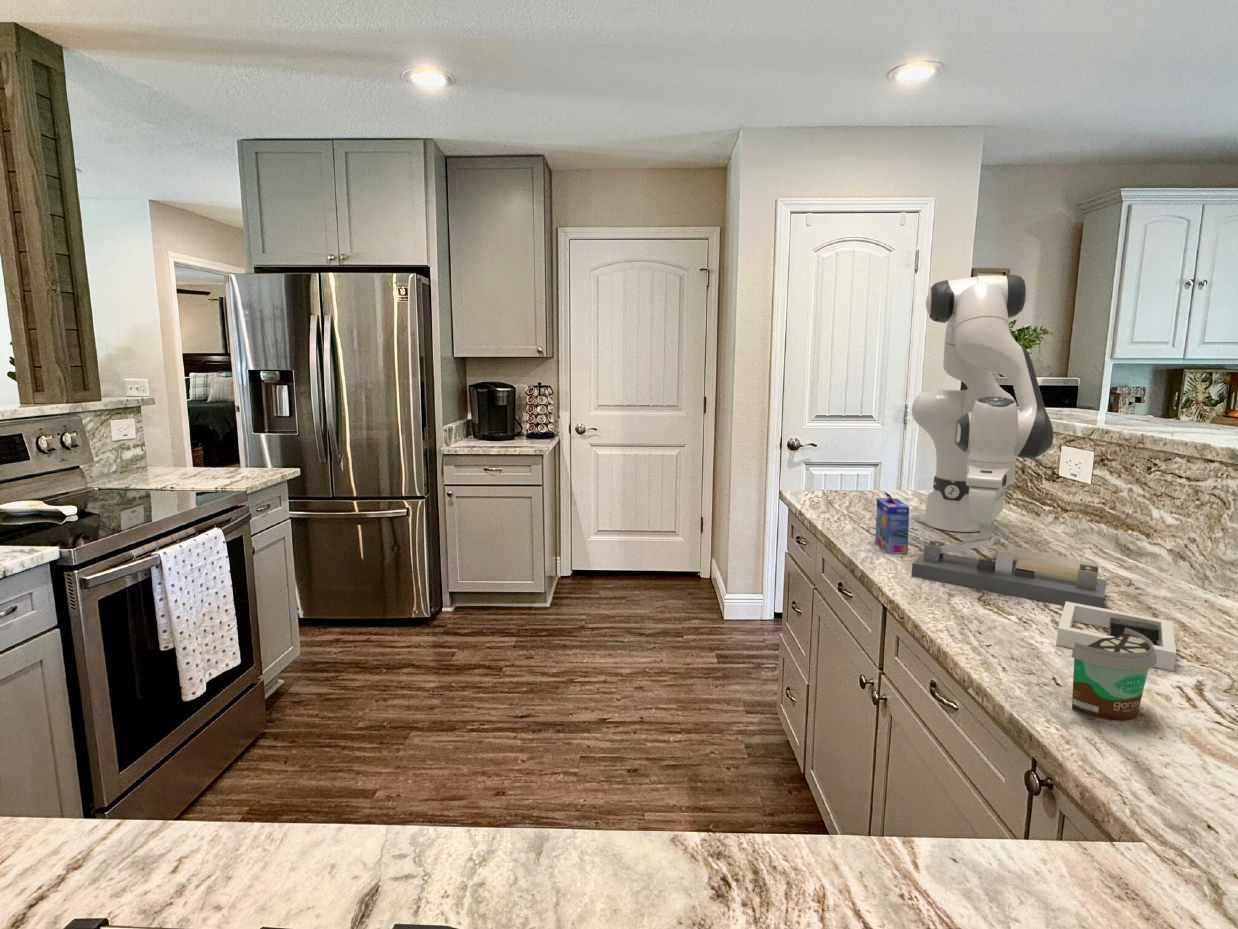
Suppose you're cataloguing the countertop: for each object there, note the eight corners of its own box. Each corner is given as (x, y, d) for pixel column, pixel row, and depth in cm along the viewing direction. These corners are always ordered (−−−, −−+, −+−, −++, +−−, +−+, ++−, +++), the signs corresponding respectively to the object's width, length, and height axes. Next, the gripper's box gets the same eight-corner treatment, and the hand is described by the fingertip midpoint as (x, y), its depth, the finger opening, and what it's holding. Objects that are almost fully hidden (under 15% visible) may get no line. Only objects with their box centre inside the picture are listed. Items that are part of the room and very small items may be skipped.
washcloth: (1006, 555, 157) (1007, 543, 156) (1094, 572, 143) (1096, 559, 143) (989, 565, 149) (990, 553, 148) (1080, 584, 136) (1082, 571, 135)
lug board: (925, 562, 150) (927, 536, 149) (1104, 594, 129) (1108, 563, 128) (911, 576, 141) (913, 548, 140) (1102, 612, 119) (1106, 580, 118)
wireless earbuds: (1163, 650, 104) (1166, 631, 104) (1109, 640, 108) (1111, 622, 108) (1158, 639, 108) (1160, 621, 108) (1106, 630, 112) (1108, 613, 112)
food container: (1114, 735, 81) (1124, 662, 79) (1064, 711, 87) (1072, 643, 85) (1169, 713, 86) (1179, 644, 84) (1119, 691, 91) (1127, 626, 90)
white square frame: (1064, 616, 118) (1065, 601, 117) (1169, 637, 109) (1172, 621, 108) (1056, 644, 106) (1057, 628, 106) (1173, 671, 97) (1176, 653, 97)
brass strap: (1017, 565, 134) (1018, 557, 134) (1093, 579, 126) (1094, 570, 126) (1015, 569, 132) (1016, 561, 131) (1092, 583, 124) (1093, 574, 123)
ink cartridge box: (873, 542, 167) (876, 489, 164) (895, 543, 166) (898, 489, 164) (885, 554, 157) (888, 497, 154) (908, 554, 156) (912, 497, 154)
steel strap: (933, 553, 144) (930, 545, 144) (995, 543, 136) (992, 535, 136) (929, 556, 142) (927, 549, 142) (992, 546, 134) (990, 538, 134)
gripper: (981, 468, 143) (976, 527, 145) (964, 478, 127) (960, 545, 129) (1013, 470, 139) (1008, 531, 141) (1000, 481, 123) (995, 550, 125)
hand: (985, 538), depth 135 cm, fingers closed
